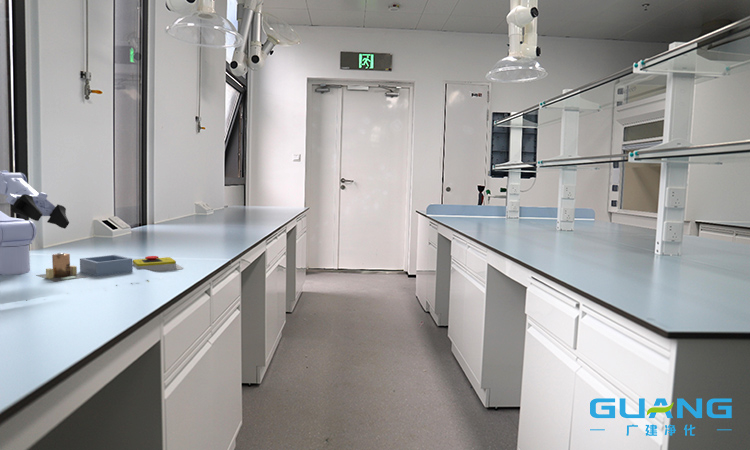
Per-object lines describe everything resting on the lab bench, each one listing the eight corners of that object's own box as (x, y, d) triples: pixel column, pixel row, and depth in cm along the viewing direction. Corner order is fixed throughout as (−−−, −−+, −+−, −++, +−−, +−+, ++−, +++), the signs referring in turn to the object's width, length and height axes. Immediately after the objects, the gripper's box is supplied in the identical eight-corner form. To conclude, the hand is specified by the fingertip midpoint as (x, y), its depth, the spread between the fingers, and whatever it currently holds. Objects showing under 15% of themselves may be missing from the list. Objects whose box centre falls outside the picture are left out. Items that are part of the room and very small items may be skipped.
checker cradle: (35, 279, 130) (35, 266, 130) (67, 275, 137) (67, 262, 136) (55, 286, 123) (54, 272, 123) (87, 281, 130) (87, 268, 130)
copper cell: (50, 276, 129) (49, 253, 129) (66, 274, 133) (65, 251, 132) (56, 278, 127) (56, 254, 127) (72, 276, 130) (72, 253, 130)
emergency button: (126, 256, 149) (176, 252, 158) (126, 269, 150) (176, 265, 158) (131, 260, 142) (184, 257, 151) (132, 275, 142) (184, 270, 151)
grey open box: (80, 275, 137) (79, 258, 136) (115, 270, 145) (114, 254, 144) (97, 280, 131) (96, 263, 131) (132, 275, 139) (132, 258, 139)
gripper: (8, 176, 121) (35, 200, 116) (59, 193, 135) (85, 216, 129) (-8, 198, 121) (18, 224, 116) (44, 214, 134) (70, 237, 129)
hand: (53, 221), depth 122 cm, fingers open, 7 cm apart
